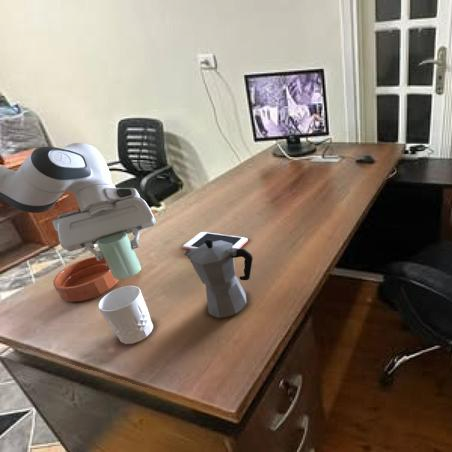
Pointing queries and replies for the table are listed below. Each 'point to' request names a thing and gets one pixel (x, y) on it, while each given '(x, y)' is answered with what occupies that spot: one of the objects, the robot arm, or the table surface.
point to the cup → (119, 255)
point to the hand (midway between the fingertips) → (118, 253)
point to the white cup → (127, 314)
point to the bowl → (84, 280)
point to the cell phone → (202, 236)
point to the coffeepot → (221, 275)
